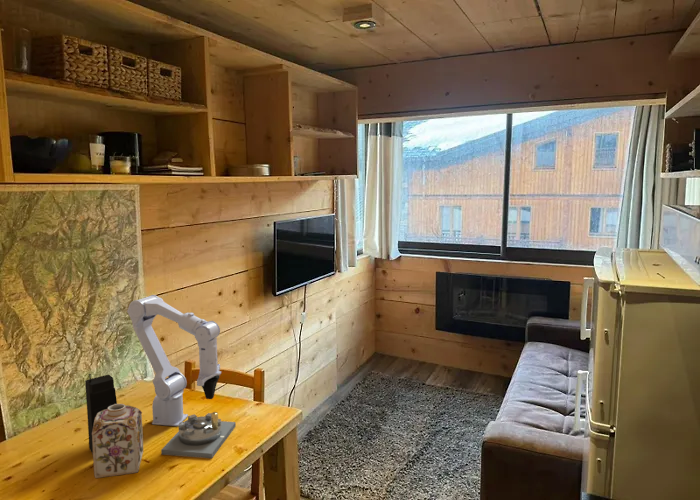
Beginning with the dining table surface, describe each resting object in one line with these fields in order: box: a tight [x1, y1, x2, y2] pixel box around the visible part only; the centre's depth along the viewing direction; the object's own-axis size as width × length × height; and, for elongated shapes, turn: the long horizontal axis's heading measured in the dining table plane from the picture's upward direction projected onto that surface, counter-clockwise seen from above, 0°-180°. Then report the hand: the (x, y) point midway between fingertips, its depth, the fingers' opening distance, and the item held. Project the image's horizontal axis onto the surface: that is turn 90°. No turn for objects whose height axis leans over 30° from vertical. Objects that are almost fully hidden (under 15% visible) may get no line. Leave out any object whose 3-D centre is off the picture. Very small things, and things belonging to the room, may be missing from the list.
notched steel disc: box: [178, 411, 222, 445], centre depth 160 cm, size 13×13×8 cm
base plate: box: [160, 420, 236, 459], centre depth 161 cm, size 16×20×2 cm
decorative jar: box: [92, 403, 144, 479], centre depth 145 cm, size 12×12×18 cm
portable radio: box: [84, 373, 118, 454], centre depth 154 cm, size 8×6×25 cm
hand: (209, 398), depth 168 cm, fingers closed
